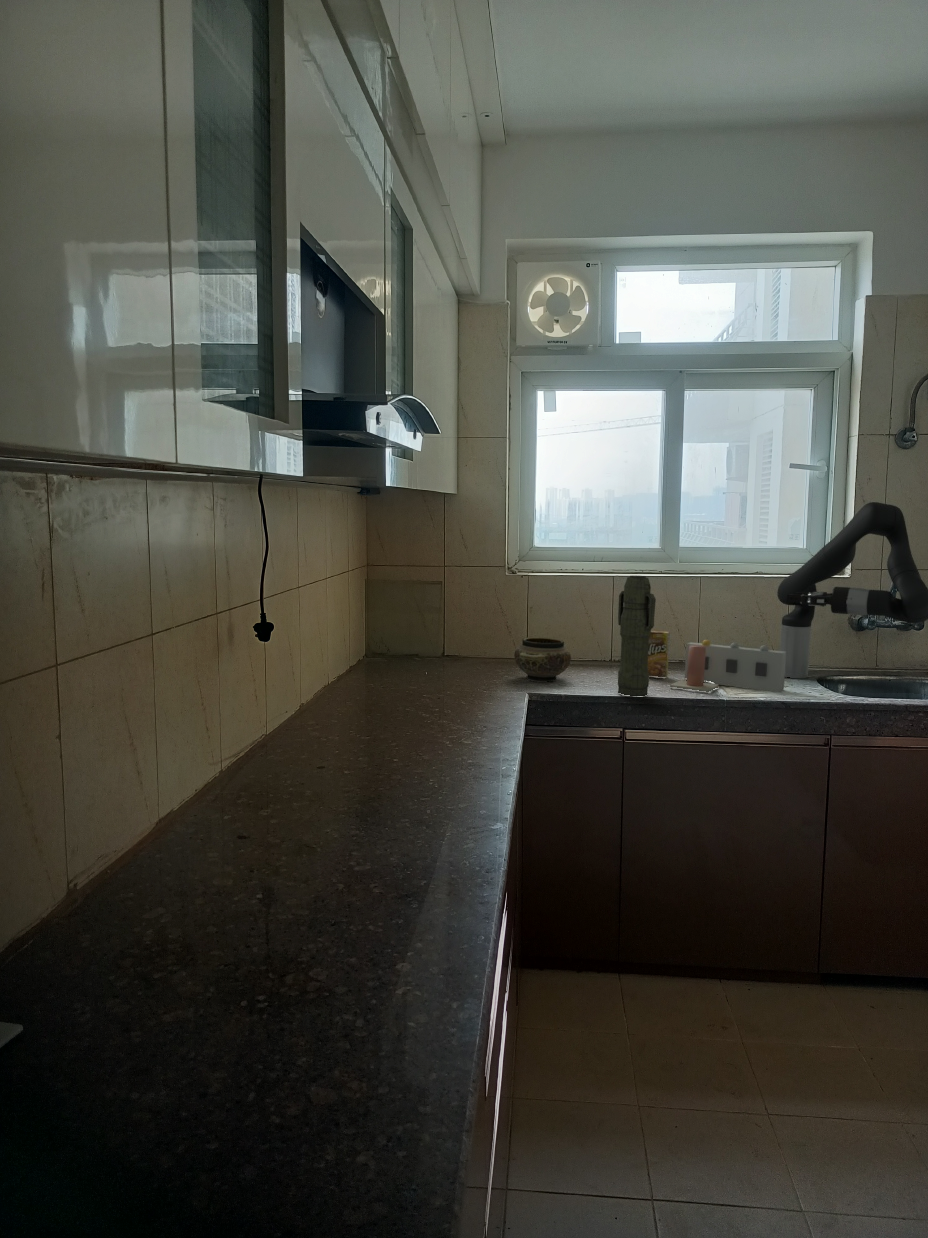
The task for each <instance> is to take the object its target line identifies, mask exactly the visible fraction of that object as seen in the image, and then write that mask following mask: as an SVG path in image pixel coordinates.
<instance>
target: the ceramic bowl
mask: <svg viewBox="0 0 928 1238" xmlns="http://www.w3.org/2000/svg"><path fill="white" fill-rule="evenodd" d="M521 642H522V644H520V645H519V646H517V647H516V648H515V651H514V656H513V657H514V660H515V663H516V665H517V667H518V669H519V670H521V671H522V672H523V673H525V674H526V679H527V680H528V681H530V680H531V682H533V681H537V682H536V683H548V682H547V681H553V682H555V681H557V676H559V675H561V674H562V673H563V672H565V671H566V669H568V667H569V665H570V663H571V660H572V656H571V653H570V651H569V649H568V648H566V647H565V641H564V640H563V639H562V640H561V639H558V638H553V637H552V638H551V637H540V636H528V637H523V638H522V641H521ZM554 680H555V681H554Z"/></svg>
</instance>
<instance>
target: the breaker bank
mask: <svg viewBox="0 0 928 1238" xmlns="http://www.w3.org/2000/svg"><path fill="white" fill-rule="evenodd" d="M685 644H686V646H685V663H684V679H685V678H687V670H688V656H689V645H702V646H706V655H705V668H704V680H707V681H711V682H714V683H715V684H717V685H718V684H719V685H720V686H729V687H736V688H745V689H753V690H761V691H768V692H775V693H777V692H778V693H783V691H784V689H785V678H786V677H785V663H786V652H784V651H780V650H772V649H771V650H770V649H769V647H768V646H767V645H765V644H763V645H761V646H760V647H759V648H753V647H742V646H740V645H739V643H738V642H736V641H735V642H732V643H731V644H730V645H721V644H712V643H711V641H710V640H709V639H704V640H703V641H702V642H701V643H700V642H694V641H693V642H692V641H691V642H687V643H685Z"/></svg>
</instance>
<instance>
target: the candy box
mask: <svg viewBox="0 0 928 1238" xmlns="http://www.w3.org/2000/svg"><path fill="white" fill-rule="evenodd" d="M670 634H671V633H670V631H664V630H651V636H650V638H649V646H648V671H649V676H658V677H667V678H668V672H669V670H668V669H669V656H670V654H669V652H670V650H669V649H670Z"/></svg>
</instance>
